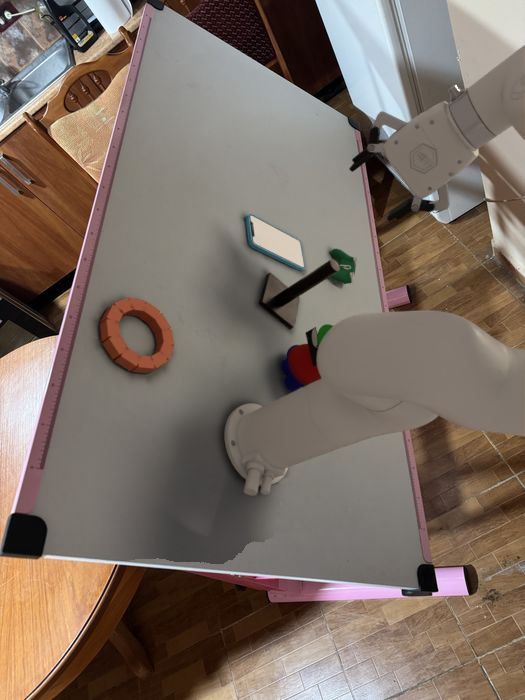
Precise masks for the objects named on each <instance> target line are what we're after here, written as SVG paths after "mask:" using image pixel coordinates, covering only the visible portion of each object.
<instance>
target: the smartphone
mask: <svg viewBox="0 0 525 700" xmlns="http://www.w3.org/2000/svg"><path fill="white" fill-rule="evenodd" d="M245 224H246V234H247V241H248V244H249V246H250V247H251V248H252V249H253V250H256V251H258V252H260V253H262V254H264V255H267V256H269V257H271V258H273V259H275V260H277V261H278V262H281V263H283V264H285V265H287V266H289V267H291V268H292V269H295V270H297V271H299V272H302V271H304V270H305V269H306V268H307V267H306V261H305V255H304V250H303V244H302V242H301V240H300V239H299V238H297V237H295V236H294V235H292V234H290V233H288V232H287V231H284V230H283V229H281V228H279V227H277V226H276V225H274V224H272V223H269V222H268V221H266V220H264V219H262V218H260V217H259V216H257V215H255V214H253V213H248V214H247V215H246V216H245Z"/></svg>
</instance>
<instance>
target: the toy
mask: <svg viewBox="0 0 525 700" xmlns="http://www.w3.org/2000/svg"><path fill="white" fill-rule="evenodd" d="M333 326H334V325H332V324H330V323H329V324H327V323H326V324H324V325H321V326H320V328H319V329H318V330H317V326H315V327H312V328H310V329H309V330H307V331H306V332H305V337H306V341H307V342H306V343H301V344H294V345H291V346H290V347H288V349H287V351H286V355H285V358H284V359H281V361H280V369H281V372H282V373H283V375H284V378H283V383H284V386H285V388H286V389H287V390H288V391H290V392H294V391H296V390H298V389H300V388H302V387H304V386H307V385H309V384H311V383H313V382H315V381H317V380H319V379H322V378H321V376H320V374H319V371H318V368H317V351H318V347H319V344H320V342H321V340H322V339H323V337H324V336H325V334H326V333H327V332H328V331H329V330H330V329H331V328H332V327H333Z"/></svg>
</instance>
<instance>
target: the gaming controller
mask: <svg viewBox="0 0 525 700" xmlns="http://www.w3.org/2000/svg"><path fill="white" fill-rule="evenodd" d="M330 255H331V256H332V258H333V259H334V260H335V261H336V262H337V263H338V265H339V267H340V270H339V271H338V272H337V273H335V274H334V275H332V276H330V277H329V278H330V279H331V280H333V281H335V282H337V283H340V284H343V285H346V284H352V283H353V282H354V280H355V273H356V267H357V265H358V257H354V256H351V255H349V254H347V253H346V252H345V251H343V250H342V249H341V248H333V249H331V250H330Z"/></svg>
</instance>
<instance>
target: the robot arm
mask: <svg viewBox="0 0 525 700" xmlns="http://www.w3.org/2000/svg"><path fill="white" fill-rule="evenodd" d="M447 92H448V93H449V97H450V99H449V102H448V101H446V100H442V101H441V102H438V103H436V104H435V105H433V106H431V107H429V108H428V109H426V110H425V111H423V112H421V113H419V114H418V115H417V116H415V117H414V118H412V119H411V120H409V121H408V122H406V121H404V120H403V119H400V118H399V117H396V116H394V115H392V114H390V113H388V112H386V111H384V110H382V111H379V113H378V114H377V115H376V117H375V119H374V122H373V124H372V125H371V129H370V130H369V136H368V143H367V144H368V145H367V146H366V147H365V148H364V149H363V150H361V151H360V152H359V153H357V154H356V155H355V156H354V157H353V158H352V159H351V161H352V162H353V163H352V164H351V166H350V167H349V168H348V169H349V171H350V172H352V173H353V172H355V171H356V170H357V169H359V168H360V167H361V166H362V165H364V164H365V163H367V162H368V161H369V160H370V159H372V158H373V157H374V155H375V153H378V154H379V153H380V154H384V155H385V158H386V159H387V160H388V162H389V163H390V165H391V166H392V167H393V169H394V170H395V172H396V173H397V175H398V176H399V177H400V178H401V180H402V181H403V183H404V184H405V185H406V187H407V188H408V189H409V190H410V192H411V193H412V194H413V198H412V197H409V198H407V199H406V200H404V201H403V202H401V203H400V204H398V205H397V206H395V207H394V208H393V209H391V210H390V211H389V213H388V215H387V217H386V218H387V219H386V220H387V221H388V222H391V221H393V220H394V219H396V221H399V220H400V219H402V218H404V217H405V216H406V215H408V214H409V213H411V212H419V211H420V212H426V213H432V212H433V211H434V212H438V211H447V210H448V209H449V208H450V194H449V185H448V184H449V183H448V182H449V181H451V180H452V179H454V178H455V177H457V175H458V174H460V173H461V172H462V171H464V170H465V169H466V168H467V167H468V166H470V164H472V162H474V161H475V160H476V159H477V158H478V157H479V153H480V152H479V149H480V148H482V147H483V146H484V145H486V144H488V143H489V142H490V141H492V140H494V139H495V138H497V136H499V135H501V134H503V132H505V131H507V130H508V129H510V128H511V127H513V128H514V130H515V131H516V133H518V135H519V136H520V137H521V139H523V140H524V141H525V44H524V45H522V46H521V47H519V48H518V49H517V50H516V51H514V52H513V53H512V54H511V55H509V56H508V57H507V58H505V59H504V60H502V62H500V63H498V64H497V65H496V66H495V67H493V68H492V69H491V70H490V71H488V72H487V73H486V74H484V75H483V76H482V77H481V78H479V79H478V80H477V81H475V82H474V83H473V84H472V85H469V87H466V88H461V87H459V85H458V84H457V83H455V84H453V85H452V86H450V88H448V89H447ZM383 126H385V127H389V128H391V129H393V130H395V131H394V132H393V133H392V134H390V136H389V137H388V138H380V135H381V129H382V127H383ZM436 191H438V197H439V199H437V200H430V199H425V198H427V197H429V196H432V194H433V193H435V192H436ZM317 368H318V371H319V374H320V376H321V378H322V379H319V380H317V381H315V382H313V383H311V384H309V385H307V386H304V387H301V388H299V389H297V390H295V391H291V392H290V393H287V394H286V395H284V396H281V397H280V398H277V399H276V400H273V401H271V402H269V403H267V404H265V405H262V404H261V405H260V404H258V403H252V402H251V403H244V404H241V405H240V406H238V407H236V408H235V409H234V410H233V411H232V412H231V413H230V414H229V416H228V417H227V420H226V422H225V426H224V436H223V437H224V444H225V450H226V453H227V456H228V458H229V460H230V464H231V465H232V466H233V468H234V469H235V470H236V471H237V472H238V474H239V475H240V476H241V477H242V478H243V479H245V483H244V487H243V493H244V494H246V495H247V496H253V497H254V496H257V495H258V491H259V487H260V491H259V492H260V494H263V495H266V496H267V495H270V494H271V489H272V485H274V484H277V483H279V481H281V480H282V479H283V478H284V477H285V476H286V474H287V472H288V470H289V467H294V466H295V465H298V464H301V463H303V462H306V461H309V460H311V459H314V458H317V457H320V456H322V455H325V454H328V453H332V452H334V451H336V450H339V449H342V448H345V447H349V446H351V445H353V444H356V443H359V442H363V441H365V440H369V439H371V438H376V437H379V436H380V437H381V436H384V435H389V434H390V435H391V434H395V433H402V432H407V431H410V430H414V429H418V428H421V427H424V426H426V425H428V424H429V423H431V422H433V421H434V420H435V419H436V418H438V417H441V418H442V419H444V420H446V421H448V422H450V423H452V424H454V425H455V426H458V427H460V428H463V429H467V430H470V431H474V432H475V431H477V432H484V433H485V432H486V433H494V434H495V433H496V434H503V435H509V436H518V437H524V438H525V349H523V348H522V349H521V348H515V347H511V346H509V345H506V344H504V343H503V342H501V341H499V340H497V339H496V338H495V337H493V336H492V335H491V334H489V333H488V332H487V331H485V330H484V329H482V328H481V327H479V326H478V325H477V324H476V323H474V322H472V321H470V320H469V319H467V318H465V317H463V316H462V315H461V316H460V315H458V314H455V313H451V312H448V311H442V310H432V309H427V310H424V309H423V310H405V311H384V312H366V313H359V314H354V315H351V316H348V317H346V318H344V319H341V320H340V321H338V322H336V323H335V324H334V325H333V327H332V328H331V329H330V330H329V331H328V332H327V333H326V334H325V336H324V337H323V339H322V340H321V342H320V344H319V347H318V351H317Z"/></svg>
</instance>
